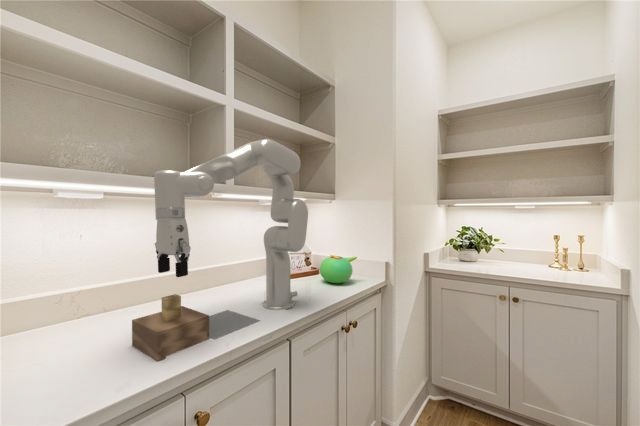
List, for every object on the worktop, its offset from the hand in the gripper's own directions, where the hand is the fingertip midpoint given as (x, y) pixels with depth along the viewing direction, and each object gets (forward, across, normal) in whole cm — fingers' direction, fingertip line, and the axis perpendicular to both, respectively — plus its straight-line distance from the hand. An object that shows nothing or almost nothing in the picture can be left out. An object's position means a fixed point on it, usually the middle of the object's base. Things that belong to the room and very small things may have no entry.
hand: (172, 273), depth 84 cm
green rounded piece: (+23, -1, -86) cm, 89 cm away
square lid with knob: (+20, 0, +1) cm, 20 cm away
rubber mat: (+20, 0, -16) cm, 26 cm away
